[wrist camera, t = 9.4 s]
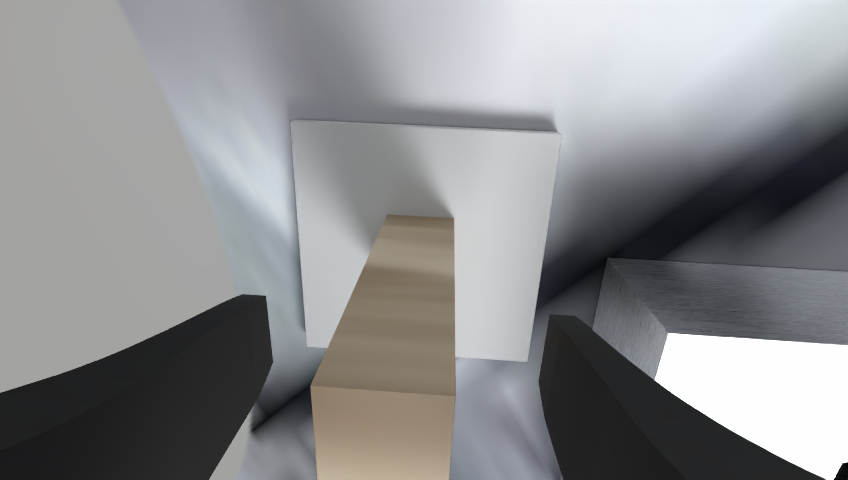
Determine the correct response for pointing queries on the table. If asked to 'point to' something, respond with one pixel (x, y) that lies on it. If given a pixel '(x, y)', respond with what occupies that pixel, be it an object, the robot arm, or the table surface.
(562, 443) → the robot arm
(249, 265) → the table surface
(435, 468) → the long tan rectangular block
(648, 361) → the guard box
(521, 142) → the pad
